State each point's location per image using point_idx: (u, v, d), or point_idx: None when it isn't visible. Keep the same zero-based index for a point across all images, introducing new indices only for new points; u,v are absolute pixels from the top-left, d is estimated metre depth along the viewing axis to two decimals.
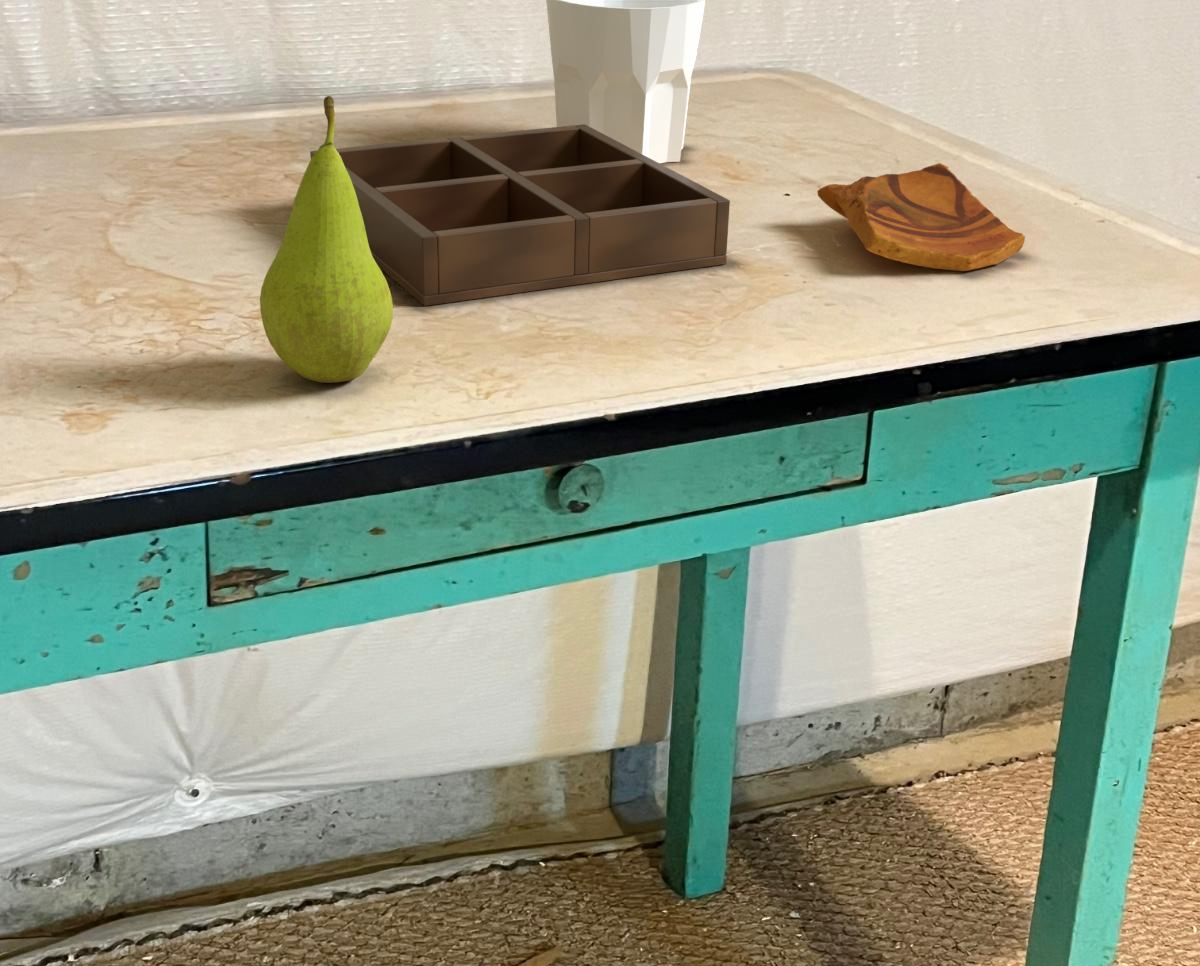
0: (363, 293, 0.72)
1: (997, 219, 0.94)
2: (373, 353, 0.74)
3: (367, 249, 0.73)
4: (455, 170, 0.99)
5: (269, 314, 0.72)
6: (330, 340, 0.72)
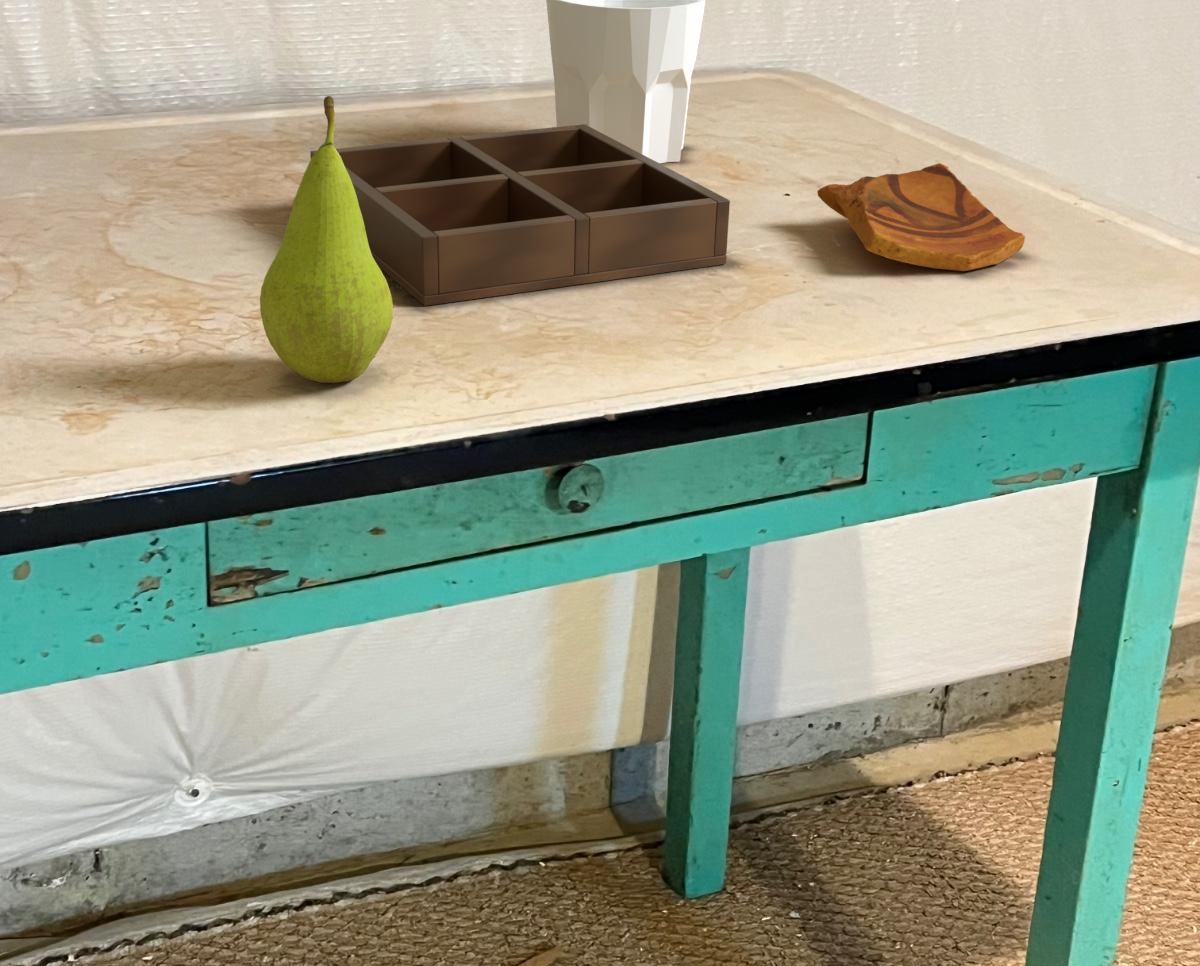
0: (363, 293, 0.72)
1: (997, 219, 0.94)
2: (373, 353, 0.74)
3: (367, 249, 0.73)
4: (455, 170, 0.99)
5: (269, 314, 0.72)
6: (330, 340, 0.72)
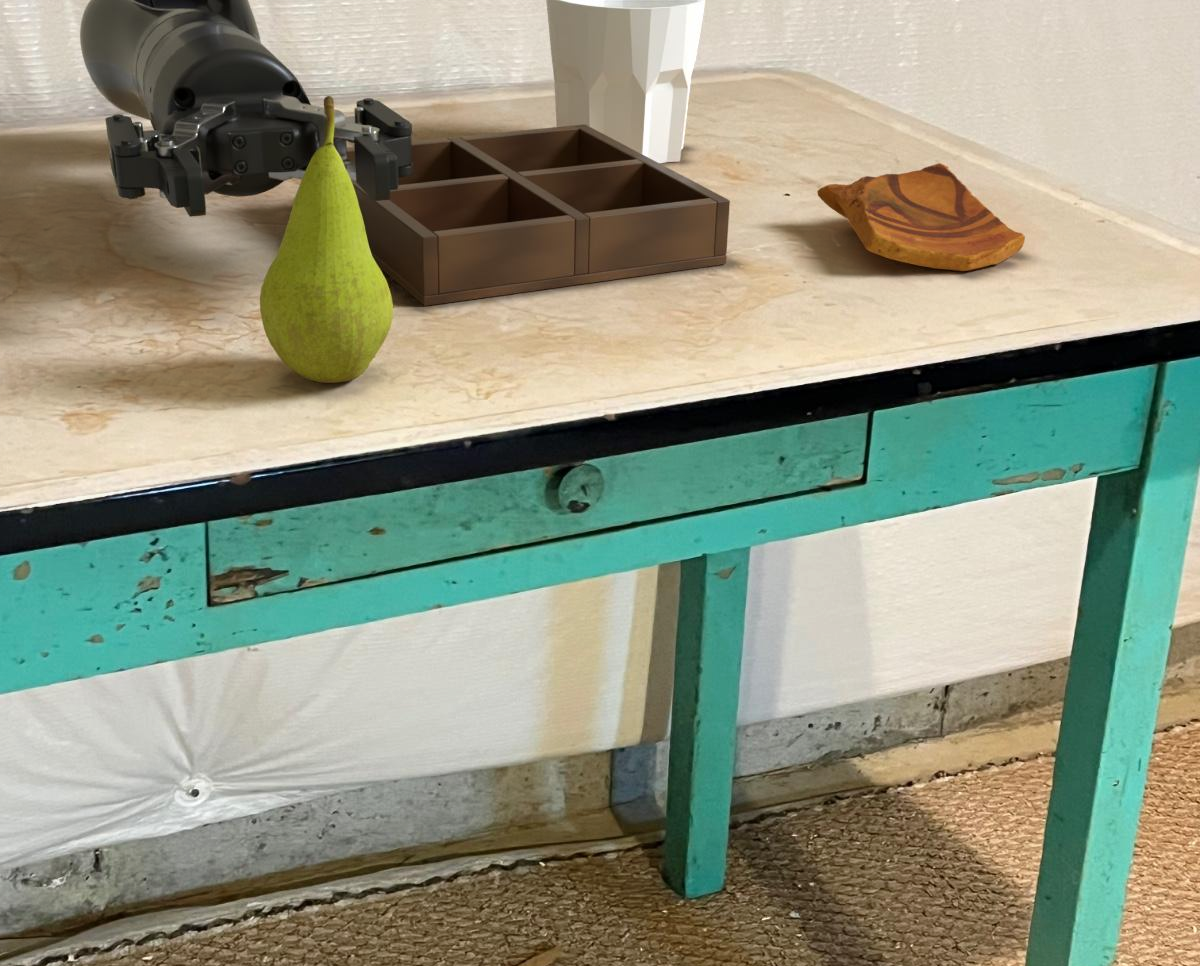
0: (363, 293, 0.72)
1: (997, 219, 0.94)
2: (373, 353, 0.74)
3: (367, 249, 0.73)
4: (455, 170, 0.99)
5: (269, 314, 0.72)
6: (330, 340, 0.72)
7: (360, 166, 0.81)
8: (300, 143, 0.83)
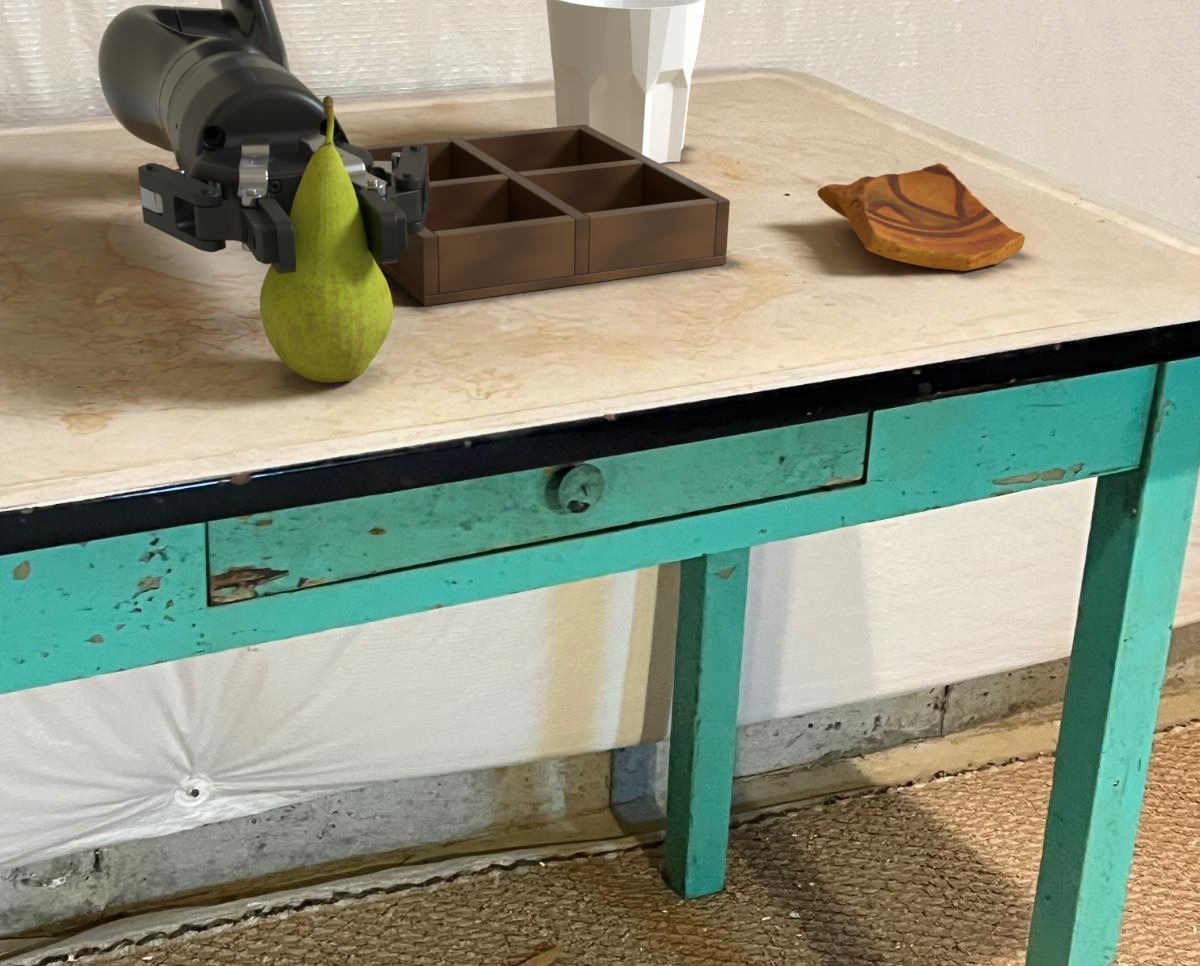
0: (363, 293, 0.72)
1: (997, 219, 0.94)
2: (373, 353, 0.74)
3: (367, 249, 0.73)
4: (455, 170, 0.99)
5: (269, 314, 0.72)
6: (330, 340, 0.72)
7: (365, 224, 0.73)
8: None
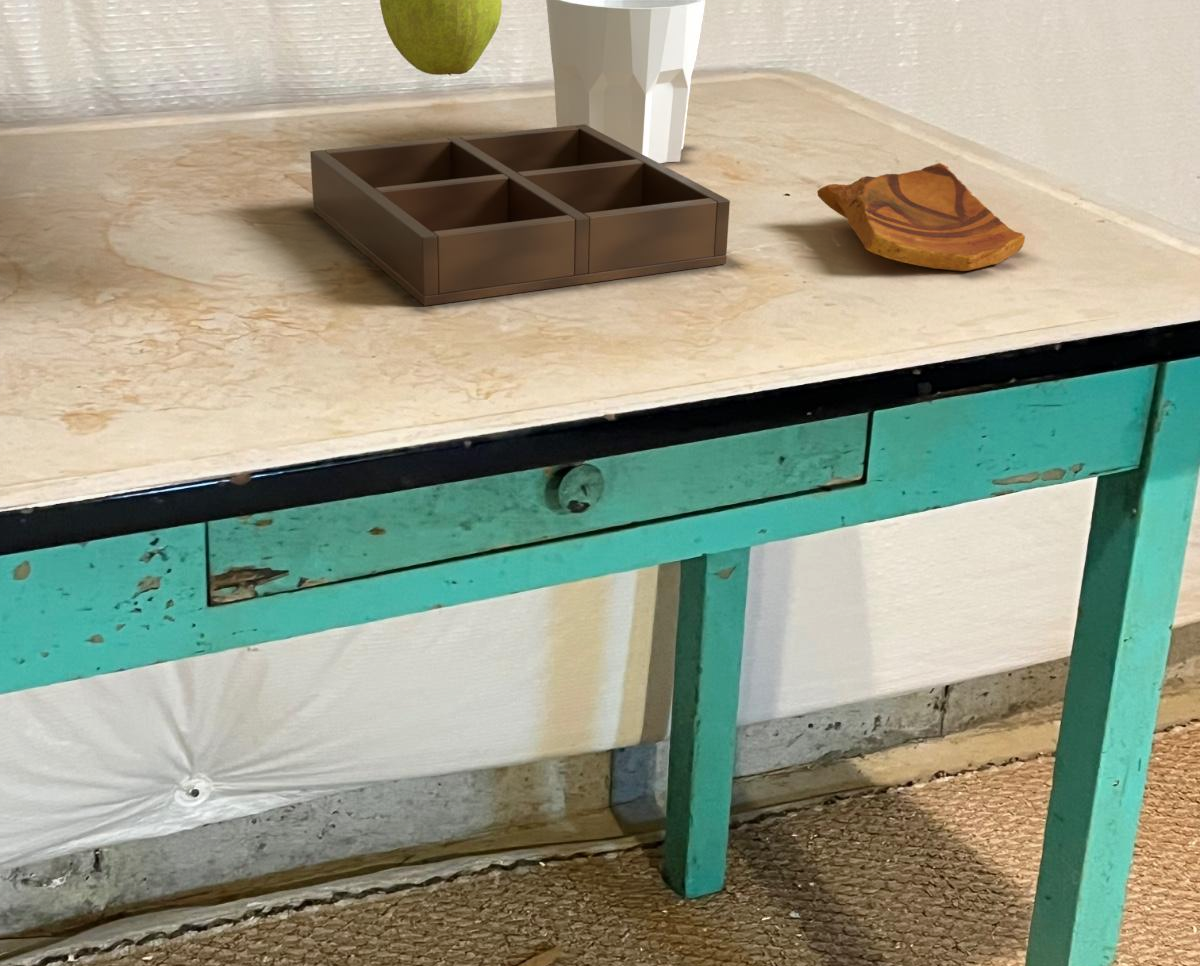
0: None
1: (997, 219, 0.94)
2: (483, 45, 0.80)
3: None
4: (455, 170, 0.99)
5: (390, 1, 0.78)
6: (447, 24, 0.78)
7: None
8: None
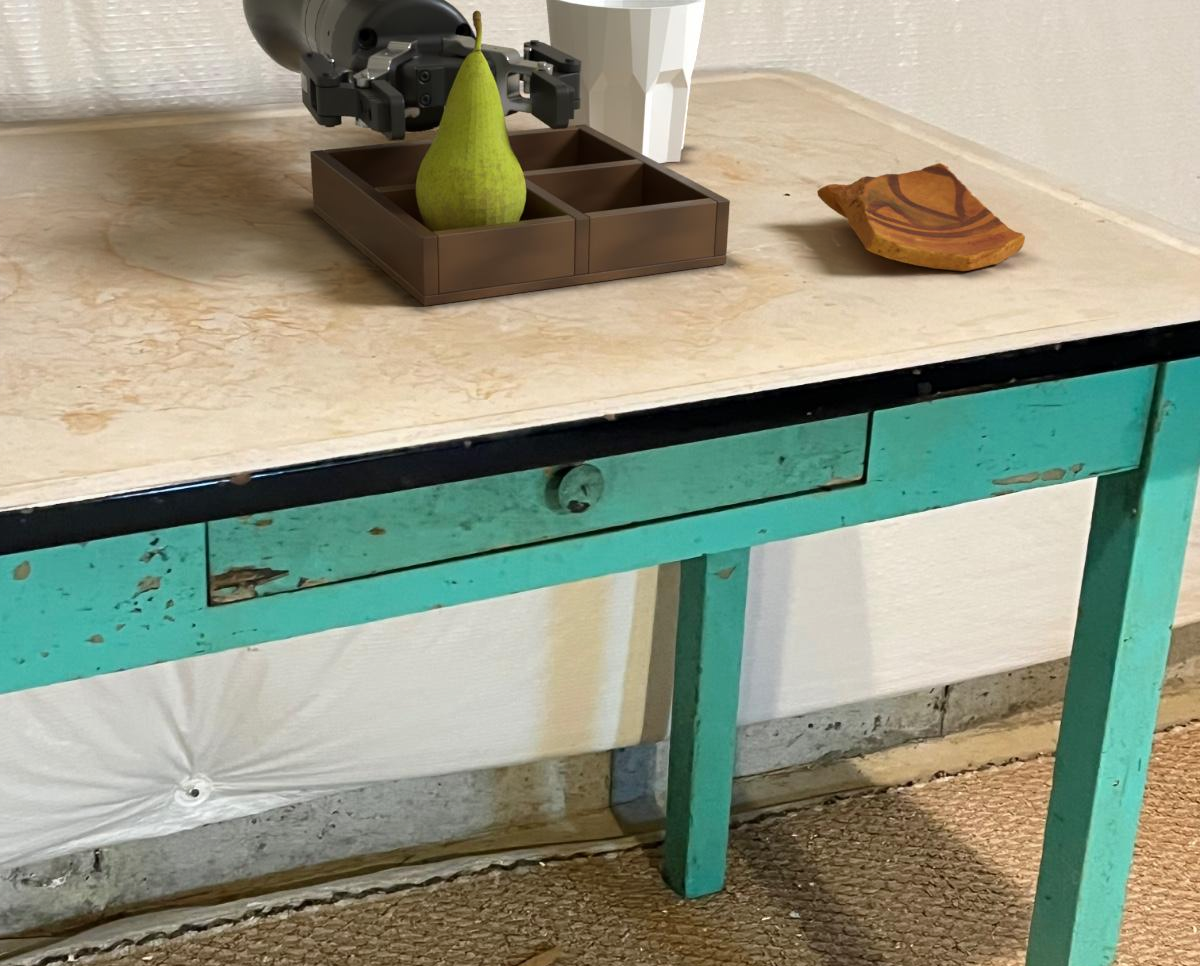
0: (505, 176, 0.86)
1: (997, 219, 0.94)
2: None
3: (507, 140, 0.86)
4: None
5: (426, 194, 0.86)
6: (477, 215, 0.86)
7: (538, 98, 0.88)
8: None
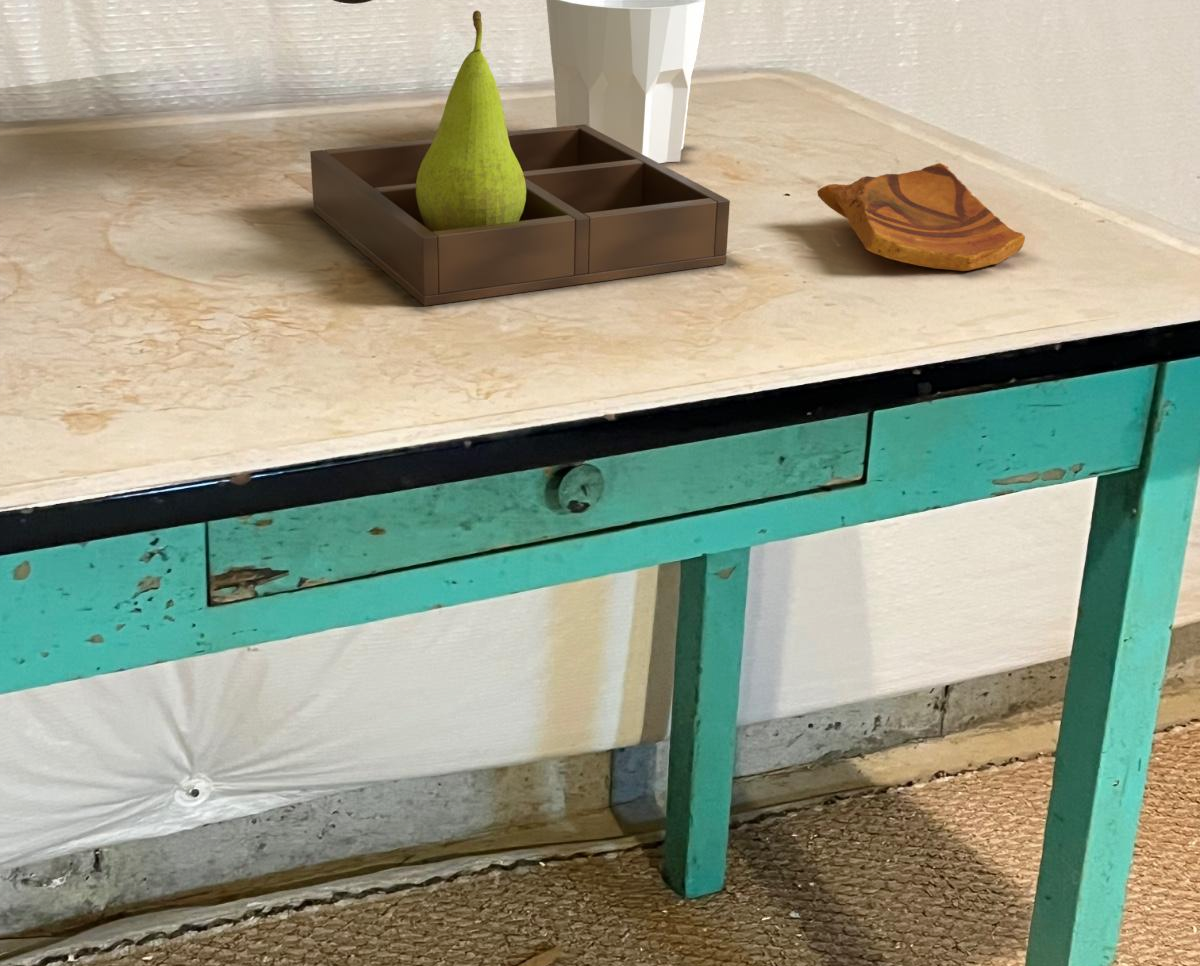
0: (505, 176, 0.86)
1: (997, 219, 0.94)
2: None
3: (507, 140, 0.86)
4: None
5: (426, 194, 0.86)
6: (477, 216, 0.86)
7: None
8: None
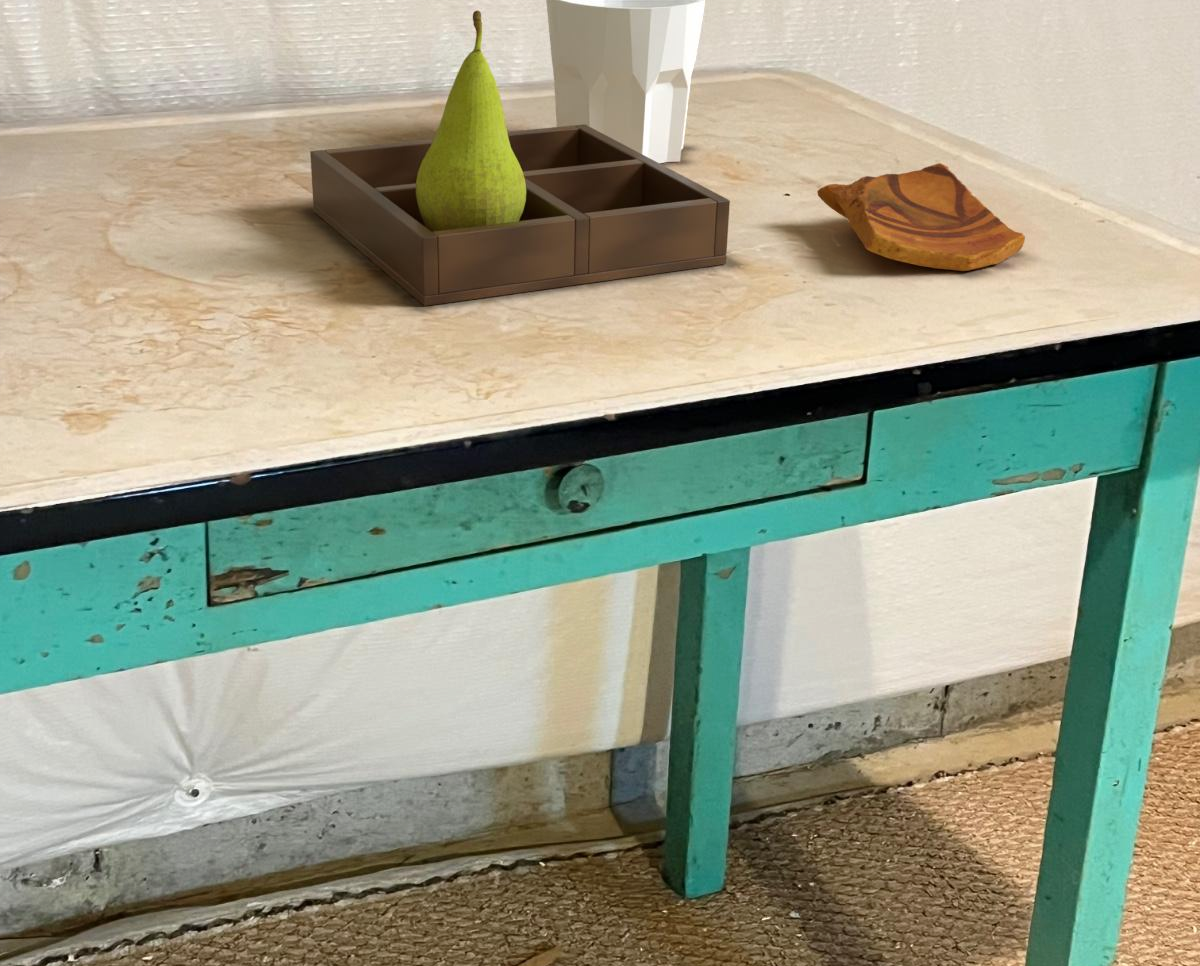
0: (505, 176, 0.86)
1: (997, 219, 0.94)
2: None
3: (507, 140, 0.86)
4: None
5: (426, 194, 0.86)
6: (477, 216, 0.86)
7: None
8: None
